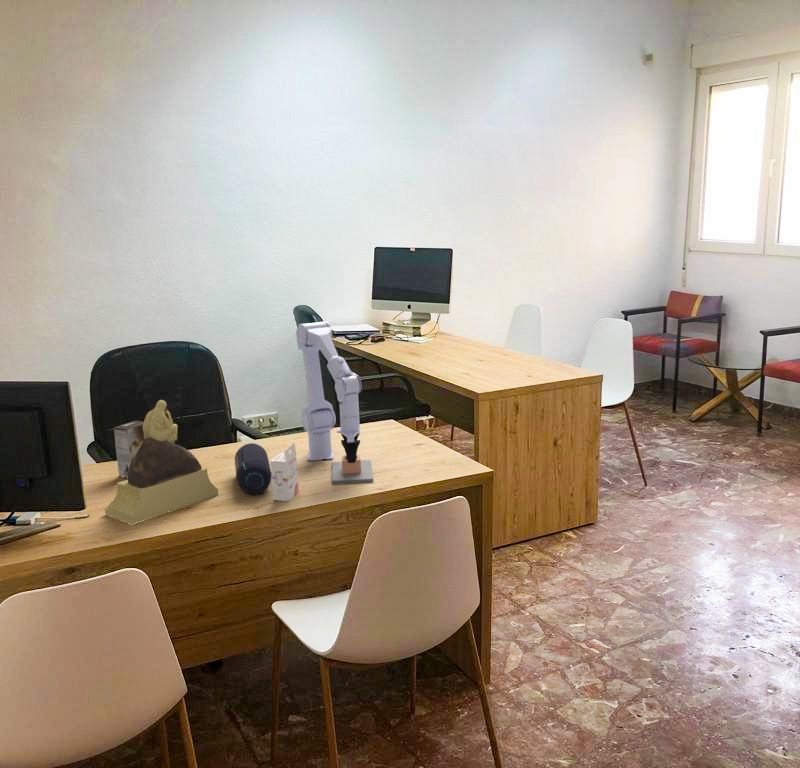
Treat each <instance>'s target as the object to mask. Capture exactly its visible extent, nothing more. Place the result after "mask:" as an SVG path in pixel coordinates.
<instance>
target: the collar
mask: <svg viewBox="0 0 800 768" xmlns="http://www.w3.org/2000/svg"><path fill="white" fill-rule="evenodd" d="M361 461H362V460H361V454H357V455H356V461H355V463H348V460H347V456H346V454H344V455H343V454H342V455H341V462H342V473H343V474H347V473H361Z"/></svg>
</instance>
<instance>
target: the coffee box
mask: <svg viewBox="0 0 800 768" xmlns="http://www.w3.org/2000/svg"><path fill="white" fill-rule="evenodd" d="M143 424H144V421H142V420H141V421H140V420H133V421H130V422H127V423H124V424H120V425H118V426H114V427H112V428H113V435H114V443H115V452H116V453H115V454H116V460H117V461H116V462H117V467H118V468H117V470H118V476H124V477H128V468H129V466H130V464H131V462H132V461H133V460H134V458H135V454H136V451H137V449H138V447H139V445H140V444H141V443H142V442H143V441H144V440H145V439H146V438H145V435H144V431H143ZM148 437H149V433H148Z"/></svg>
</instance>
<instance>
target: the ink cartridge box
mask: <svg viewBox="0 0 800 768" xmlns="http://www.w3.org/2000/svg"><path fill="white" fill-rule="evenodd" d="M297 461H298V460H297V452H296V445H295V442H293V443H292V444H291V445H289V446H288V447H287V448H286V449H285V450H284V451H283V452H282V451H281V452H279V453H278V454H277V455H275V457H273V458H272V459H271V460H270V461H269V464H270V469H271V475H272V476H271V485H272V497H273V501H274V500H278V501H277V502H280V501H279V500H282V501H281V502H291V500H292V499H293V498H294V497H295V496H294V495H297V494H298V493H299V492H300V491H299V490H300V489H299V475H298V462H297Z"/></svg>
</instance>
